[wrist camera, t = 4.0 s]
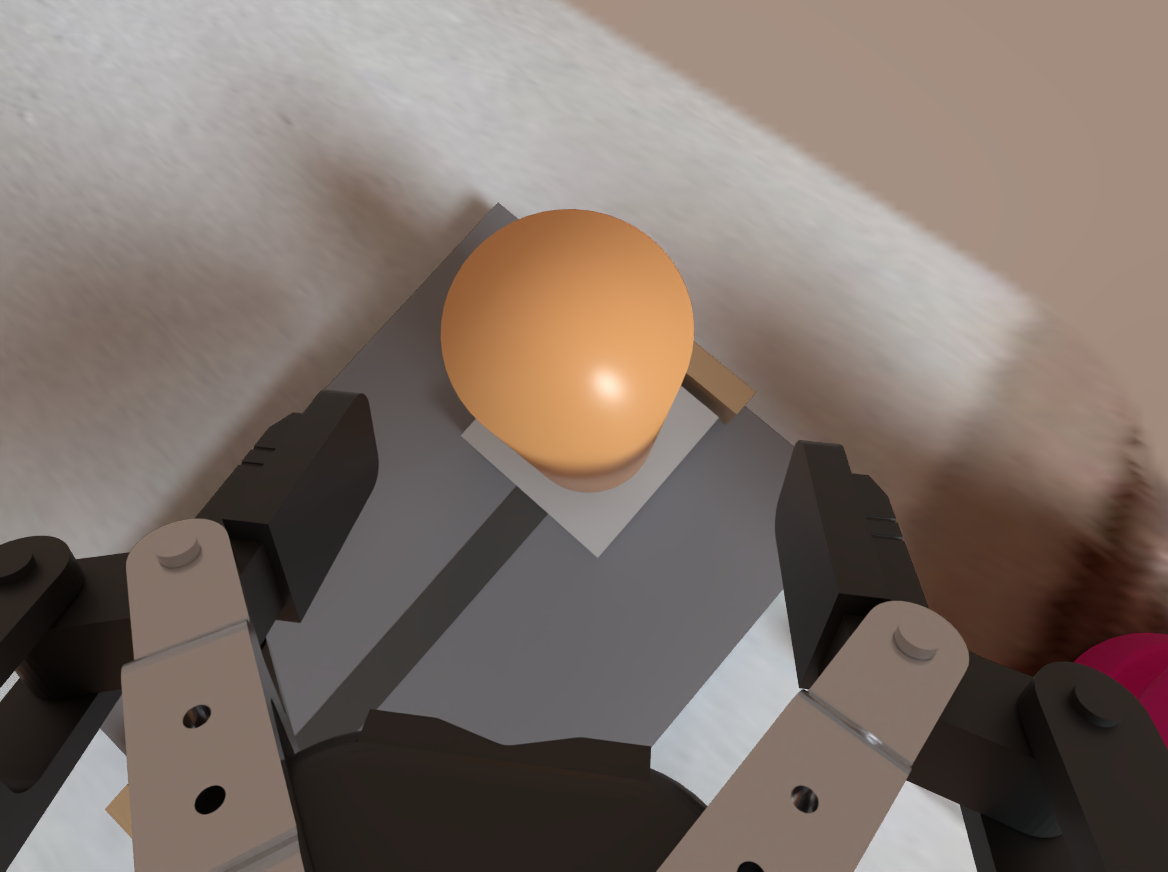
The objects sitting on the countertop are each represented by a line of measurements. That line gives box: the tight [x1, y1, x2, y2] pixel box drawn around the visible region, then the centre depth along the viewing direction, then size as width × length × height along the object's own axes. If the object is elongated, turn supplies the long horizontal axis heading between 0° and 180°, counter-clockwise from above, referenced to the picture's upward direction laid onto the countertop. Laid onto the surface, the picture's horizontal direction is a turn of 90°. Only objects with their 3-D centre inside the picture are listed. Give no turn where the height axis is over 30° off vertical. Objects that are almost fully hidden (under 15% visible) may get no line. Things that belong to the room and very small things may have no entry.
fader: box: [441, 209, 719, 558], centre depth 15 cm, size 5×5×10 cm
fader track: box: [100, 203, 794, 838], centre depth 19 cm, size 14×19×3 cm
